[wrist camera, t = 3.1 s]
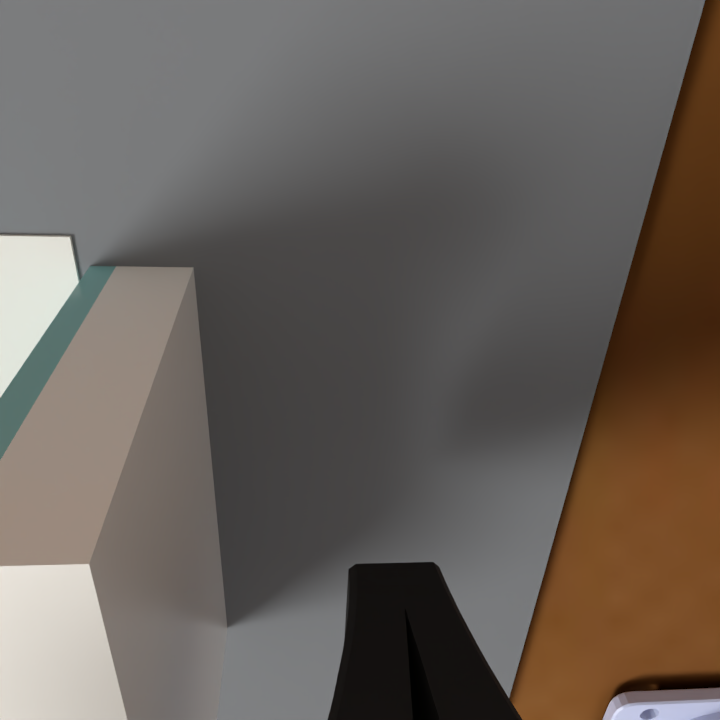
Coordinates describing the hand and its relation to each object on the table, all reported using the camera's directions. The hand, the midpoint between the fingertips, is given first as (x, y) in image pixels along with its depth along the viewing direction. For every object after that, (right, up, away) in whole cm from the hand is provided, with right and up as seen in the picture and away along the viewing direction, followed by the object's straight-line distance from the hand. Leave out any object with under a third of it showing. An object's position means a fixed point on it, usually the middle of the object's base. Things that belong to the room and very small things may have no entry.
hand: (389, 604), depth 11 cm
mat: (-4, +2, +3) cm, 5 cm away
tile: (-4, +2, +2) cm, 5 cm away
